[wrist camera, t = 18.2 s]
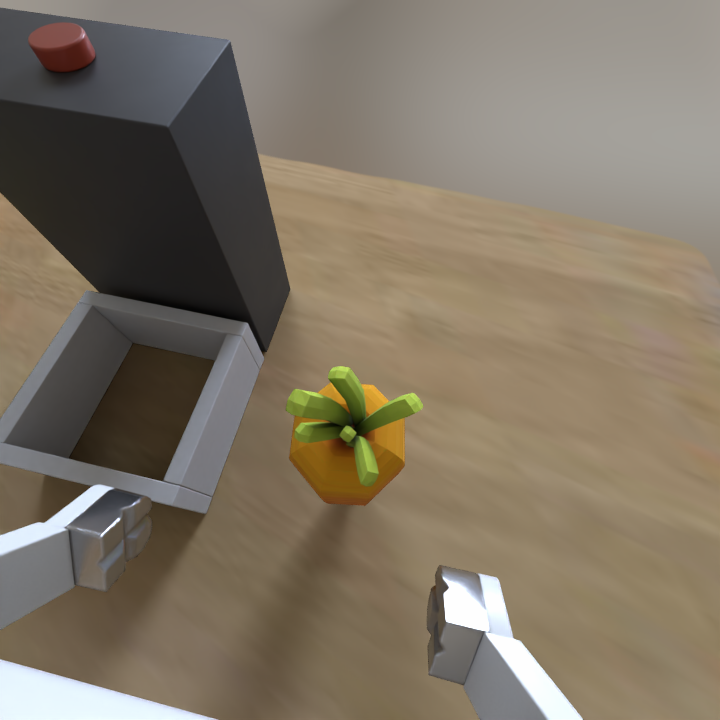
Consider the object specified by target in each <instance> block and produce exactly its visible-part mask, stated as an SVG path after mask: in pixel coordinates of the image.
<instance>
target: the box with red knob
mask: <svg viewBox="0 0 720 720" xmlns="http://www.w3.org/2000/svg"><path fill="white" fill-rule="evenodd" d="M0 192H1V193H2V194H3V195H4V196H5V197H6V198H7V200H8V201H9V202H10V203H11V204H12V205H13V206H14V207H15V208H16V209H17V210H18V211H19V212H20V213H21V214H22V215H23V216H24V217H25V218H26V219H27V220H28V221H29V222H30V223H31V224H32V225H33V226H34V227H35V228H36V229H37V230H38V231H39V232H40V233H41V234H42V235H43V236H44V237H45V238H46V239H47V240H48V241H49V242H50V243H51V244H52V245H53V246H54V247H55V248H56V249H57V250H58V251H59V252H60V253H61V254H62V255H63V256H64V257H65V258H66V259H67V260H68V261H69V262H70V263H71V264H72V265H73V266H74V267H75V268H76V269H77V270H78V271H79V272H80V273H81V274H82V275H83V276H84V277H85V278H86V279H87V280H88V281H89V282H90V283H91V284H92V285H93V286H94V287H95V288H96V289H97V290H98V291H99V292H100V293H98V292H93V291H88V290H86V292H85V293H84V295H83V296H82V298H81V299H80V301H79V303H77V305H76V306H75V308H74V309H73V311H72V312H71V314H70V315H69V317H68V318H67V320H66V321H65V323H64V324H63V326H62V327H61V329H60V330H59V332H58V333H57V335H56V336H55V338H54V339H53V341H52V342H51V344H50V345H49V347H48V348H47V350H46V351H45V353H44V354H43V356H42V357H41V359H40V360H39V362H38V363H37V365H36V366H35V368H34V369H33V371H32V372H31V374H30V375H29V377H28V378H27V380H26V381H25V383H24V384H23V386H22V387H21V389H20V390H19V392H18V393H17V395H16V396H15V398H14V399H13V401H12V402H11V404H10V405H9V407H8V408H7V410H6V411H5V413H4V414H3V416H2V417H1V419H0V464H4V465H8V466H12V467H16V468H20V469H24V470H28V471H32V472H36V473H40V474H44V475H48V476H52V477H56V478H60V479H64V480H68V481H72V482H76V483H80V484H84V485H88V486H94V485H97V484H101V485H105V486H109V487H112V488H118V489H122V490H125V491H129V492H133V493H137V494H140V495H144V496H148V497H149V498H151V501H153V502H157V503H161V504H165V505H169V506H173V507H177V508H182V509H186V510H190V511H195V512H199V513H203V514H206V513H207V510H208V507H209V505H210V502H211V499H212V496H213V494H214V491H215V488H216V486H217V483H218V480H219V478H220V475H221V472H222V470H223V467H224V464H225V462H226V459H227V456H228V454H229V451H230V448H231V446H232V443H233V440H234V438H235V435H236V432H237V430H238V427H239V424H240V422H241V419H242V416H243V414H244V411H245V408H246V406H247V403H248V400H249V398H250V395H251V392H252V390H253V387H254V384H255V382H256V379H257V376H258V374H259V370H260V369H261V366H262V363H263V361H264V357H263V355H262V353H261V351H264V352H267V350H268V347H269V344H270V342H271V339H272V336H273V334H274V331H275V328H276V326H277V323H278V320H279V318H280V315H281V312H282V310H283V307H284V304H285V302H286V299H287V296H288V294H289V291H290V286H289V282H288V278H287V273H286V269H285V265H284V261H283V257H282V253H281V249H280V245H279V240H278V236H277V232H276V228H275V224H274V220H273V216H272V211H271V207H270V203H269V199H268V195H267V191H266V187H265V183H264V178H263V174H262V170H261V166H260V162H259V158H258V154H257V150H256V145H255V141H254V137H253V133H252V129H251V125H250V121H249V117H248V112H247V108H246V104H245V100H244V96H243V92H242V88H241V83H240V79H239V75H238V71H237V67H236V63H235V59H234V54H233V51H232V46H231V42H230V40H226V39H219V38H212V37H205V36H197V35H190V34H184V33H177V32H169V31H162V30H155V29H148V28H141V27H133V26H126V25H119V24H112V23H105V22H98V21H91V20H84V19H77V18H70V17H62V16H56V15H48V14H41V13H34V12H27V11H19V10H13V9H6V8H0ZM132 343H136V344H141V345H145V346H150V347H155V348H159V349H164V350H169V351H174V352H178V353H183V354H188V355H192V356H197V357H202V358H206V359H211V360H215V363H214V365H213V367H212V370H211V372H210V374H209V376H208V379H207V381H206V383H205V386H204V388H203V390H202V392H201V395H200V397H199V399H198V402H197V404H196V406H195V408H194V411H193V413H192V415H191V418H190V420H189V422H188V424H187V427H186V429H185V431H184V434H183V436H182V438H181V440H180V443H179V445H178V447H177V450H176V452H175V454H174V456H173V459H172V461H171V463H170V466H169V468H168V470H167V472H166V475H165V477H164V479H163V481H164V482H162V481H158V480H154V479H150V478H146V477H142V476H138V475H134V474H129V473H125V472H121V471H117V470H113V469H109V468H105V467H101V466H97V465H93V464H88V463H84V462H80V461H76V460H72V459H68V458H69V456H70V455H71V453H72V451H73V449H74V447H75V446H76V444H77V442H78V440H79V439H80V437H81V435H82V433H83V431H84V430H85V428H86V426H87V424H88V422H89V421H90V419H91V417H92V415H93V413H94V412H95V410H96V408H97V406H98V404H99V403H100V401H101V399H102V397H103V396H104V394H105V392H106V390H107V388H108V387H109V385H110V383H111V381H112V379H113V378H114V376H115V374H116V372H117V370H118V369H119V367H120V365H121V363H122V362H123V360H124V358H125V356H126V354H127V353H128V351H129V349H130V347H131V345H132Z"/></svg>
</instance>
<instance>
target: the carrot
mask: <svg viewBox="0 0 720 720" xmlns="http://www.w3.org/2000/svg"><path fill="white" fill-rule="evenodd" d="M328 379H329V380H330V381H331V383H329V384H328V385H327V386H326V387H324V388H323V389H322V390H321V391H319V392H318V393H314V392H309V391H303V390H298V389H294V390H293V392H292V393H291V395H290V397H289V398H288V401H287V406H286V411H287V412H289V413H290V414H292V415H295V417H294V425H293V433H292V440H291V448H290V455H289V459H290V461H291V462H292V463H293V465H294V466H295V467H296V468H297V469H298V471H299V472H300V473H301V474H302V476H303V477H304V478H305V479H306V481H307V482H308V483H309V484H310V486H311V487H312V488H313V489H314V490H315V492H316V493H317V494H318V495H319V497H320V498H321V499H322V500H323V501H324V502H326V503H329V504H347V505H364V506H365V505H366V504H368V503H369V502H370V501H371V500H372V499H373V498H374V497H375V496H376V495H377V494H378V493H379V492H380V491H381V490H382V489H383V488H384V487H385V486H386V485H387V484H388V483H389V482H390V481H391V480H392V479H393V478H394V477H395V476H397V475H398V474H399V472H400V471H401V470H402V469H403V467H404V465H405V417H408V416H410V415H412V414H415V413H416V412H418V411H420V410H421V409H422V408H423V405H422V403H421V401H420V399H419V398H418V397H417V396H416V395H415V394H414V393H410V394H406V395H403V396H401V397H398V398H396V399H394V400H392V401H390V402H389V401H388V400H387V399H386V398H385V397H384V396H383V395H382V394H381V393H380V392H379V391H378V390H377V389H376V388H375V386H374V385H364V384H360V382H359V380H358V378H357V377H356V375H355V374H354V373H353V371H352V370H351V369H350V368H348V367H343V366H339V367H334V368H333V369H331V370H330V371H329V376H328Z"/></svg>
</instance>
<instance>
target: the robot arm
mask: <svg viewBox="0 0 720 720" xmlns="http://www.w3.org/2000/svg"><path fill="white" fill-rule="evenodd" d="M151 509H152V504H151V498H149V497H148V496H144V495H140V494H137V493H133V492H129V491H125V490H122V489H118V488H112V487H109V486H105V485H101V484H97V485H94V486H92V487H90V488H89V489H88V490H87V491H85V492H84V493H83V494H81V495H80V496H79V497H78V498H76V499H75V500H74V501H72V502H71V503H70V504H68V505H67V506H66V507H65V508H63V509H62V510H61V511H59V512H58V513H57V514H55V515H54V516H53V517H52V518H50V519H49V520H48V521H46V522H45V523H41V522H37V523H35V524H32V525H29V526H26V527H23V528H20V529H17V530H14V531H11V532H8V533H6V534H3V535H0V630H1V629H3V628H5V627H6V626H8V625H10V624H12V623H13V622H15V621H17V620H18V619H20V618H22V617H24V616H25V615H27V614H29V613H31V612H32V611H34V610H36V609H38V608H39V607H41V606H43V605H44V604H46V603H48V602H50V601H51V600H53V599H55V598H57V597H58V596H60V595H62V594H63V593H65V592H67V591H69V590H70V589H72V588H74V587H75V585H77V586H82V587H86V588H91V589H95V590H100V591H104V592H107V591H108V590H109V589H110V587H111V586H112V585H113V584H114V583H115V582H116V581H117V579H118V578H119V577H120V576H121V575H122V574H123V572H124V571H125V568H126V562H127V561H129V560H131V559H133V558H135V557H137V556H138V555H139V554H140V553H141V551H142V550H143V549H144V548H145V546H146V544H147V542H148V540H149V538H150V535H151V531H152V520H151V519H150V517H149V516H148V514H147V513H148V512H149V511H150V510H151ZM435 583H436V586H434V587H432V588H431V591H430V595H429V600H428V606H427V630H428V631H429V633H430V634H431V637H430V640H429V643H428V670H429V675H430V676H433V677H437V678H440V679H444V680H447V681H451V682H454V683H458V684H461V685H464V689H465V691H466V693H467V695H468V697H469V699H470V701H471V703H472V705H473V707H474V709H475V711H476V713H477V715H478V717H479V719H480V720H583V718H582V717H581V716H580V715H579V713H578V712H577V711H576V710H575V708H574V707H573V706H572V705H571V703H570V702H569V701H568V700H567V698H566V697H565V696H564V695H563V694H562V692H561V691H560V690H559V689H558V687H557V686H556V685H555V684H554V682H553V681H552V680H551V679H550V677H549V676H548V675H547V674H546V672H545V671H544V670H543V669H542V667H541V666H540V665H539V664H538V662H537V661H536V660H535V659H534V657H533V656H532V655H531V654H530V652H529V651H528V650H527V649H526V647H525V646H524V645H523V644H522V642H521V641H519V640H515V639H514V637H513V633H512V629H511V625H510V621H509V618H508V614H507V610H506V606H505V602H504V598H503V594H502V590H501V586H500V582H499V580H498V579H497V578H496V577H492V576H487V575H483V574H478V573H477V574H476V573H474V572H469V571H465V570H460V569H456V568H451V567H447V566H442V565H439V567H438V568H437V571H436V574H435ZM0 720H217V719H214V718H210V717H206V716H203V715H199V714H196V713H192V712H188V711H185V710H181V709H178V708H174V707H170V706H167V705H163V704H160V703H156V702H152V701H149V700H145V699H141V698H138V697H134V696H131V695H127V694H123V693H120V692H116V691H113V690H109V689H105V688H102V687H98V686H95V685H91V684H88V683H84V682H80V681H77V680H73V679H70V678H66V677H62V676H59V675H55V674H52V673H48V672H44V671H41V670H37V669H34V668H30V667H26V666H23V665H19V664H16V663H12V662H9V661H5V660H1V659H0Z"/></svg>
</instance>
